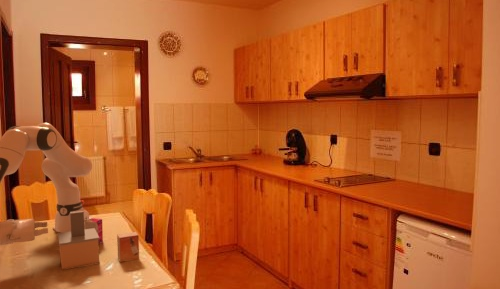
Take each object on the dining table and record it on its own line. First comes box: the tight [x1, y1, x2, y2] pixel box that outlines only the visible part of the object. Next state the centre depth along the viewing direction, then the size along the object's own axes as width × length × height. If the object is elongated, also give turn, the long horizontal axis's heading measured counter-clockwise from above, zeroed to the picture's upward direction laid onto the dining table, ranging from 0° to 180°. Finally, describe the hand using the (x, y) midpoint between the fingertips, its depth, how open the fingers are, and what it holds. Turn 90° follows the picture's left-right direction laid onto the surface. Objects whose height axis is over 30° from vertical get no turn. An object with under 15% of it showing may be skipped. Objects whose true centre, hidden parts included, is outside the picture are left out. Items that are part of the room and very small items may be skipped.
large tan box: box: [59, 240, 100, 271], centre depth 168 cm, size 14×14×10 cm
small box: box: [116, 231, 140, 263], centre depth 170 cm, size 8×6×10 cm
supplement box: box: [85, 217, 104, 245], centre depth 189 cm, size 6×6×12 cm
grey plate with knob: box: [57, 211, 99, 246], centre depth 167 cm, size 15×15×11 cm
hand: (47, 227), depth 162 cm, fingers open, 8 cm apart
